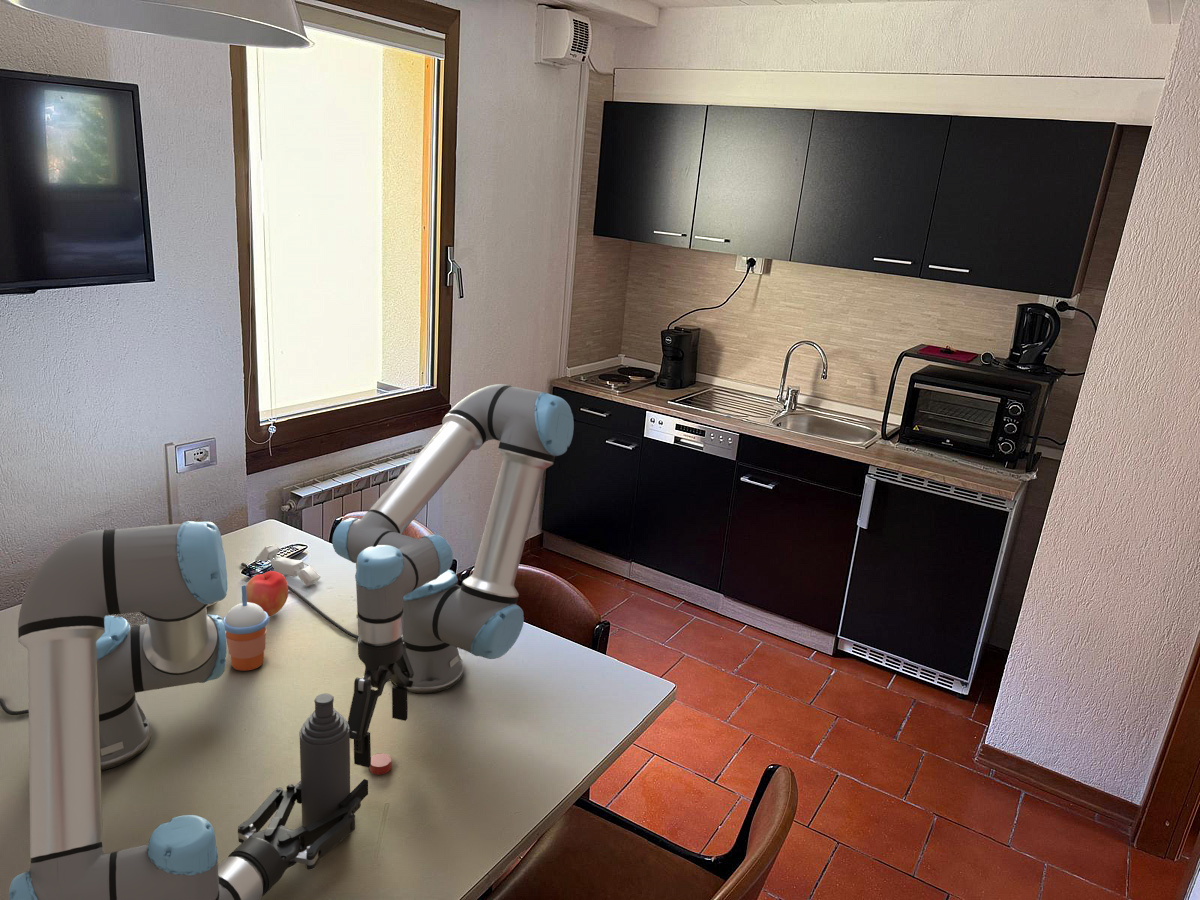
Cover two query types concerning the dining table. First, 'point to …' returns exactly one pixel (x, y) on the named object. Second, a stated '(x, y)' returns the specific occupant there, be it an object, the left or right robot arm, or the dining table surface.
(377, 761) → the cap
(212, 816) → the dining table surface
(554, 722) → the dining table surface
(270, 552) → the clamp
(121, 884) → the left robot arm
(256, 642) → the cup with straw
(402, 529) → the right robot arm
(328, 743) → the bottle
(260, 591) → the apple
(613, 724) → the dining table surface
